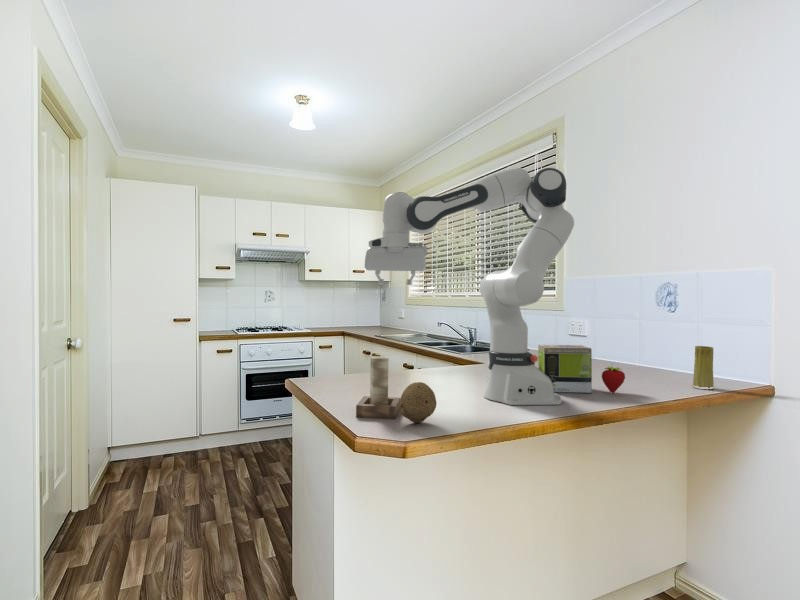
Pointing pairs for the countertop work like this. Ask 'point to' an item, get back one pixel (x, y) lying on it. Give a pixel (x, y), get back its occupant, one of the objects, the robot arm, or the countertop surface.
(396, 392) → the countertop surface
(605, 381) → the strawberry
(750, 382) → the countertop surface
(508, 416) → the countertop surface
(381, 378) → the beige tall block
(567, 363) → the tea box
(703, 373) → the vase
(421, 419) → the natural sponge
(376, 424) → the countertop surface
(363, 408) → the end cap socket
